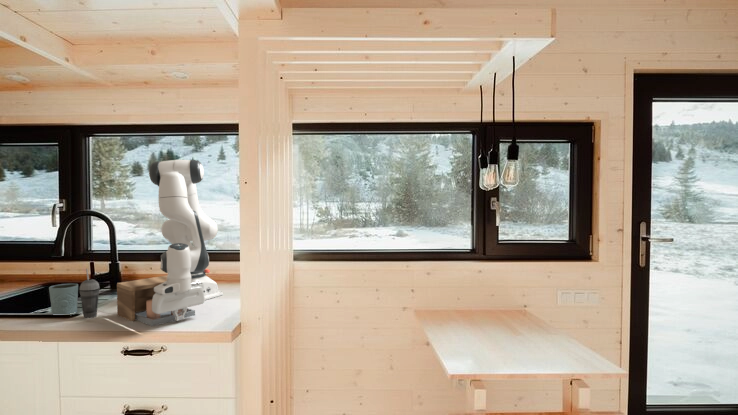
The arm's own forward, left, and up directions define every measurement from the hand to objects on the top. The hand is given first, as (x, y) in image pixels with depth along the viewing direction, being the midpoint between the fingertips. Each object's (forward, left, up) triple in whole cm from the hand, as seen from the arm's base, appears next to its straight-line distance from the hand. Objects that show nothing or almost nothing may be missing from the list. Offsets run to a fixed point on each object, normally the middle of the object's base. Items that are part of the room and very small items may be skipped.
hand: (179, 319), depth 168 cm
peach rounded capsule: (+5, -10, -1) cm, 12 cm away
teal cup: (+23, -50, -2) cm, 55 cm away
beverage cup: (+18, -37, -2) cm, 41 cm away
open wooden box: (0, -22, -2) cm, 22 cm away
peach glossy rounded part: (-5, -10, -1) cm, 12 cm away
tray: (0, -11, -2) cm, 11 cm away
